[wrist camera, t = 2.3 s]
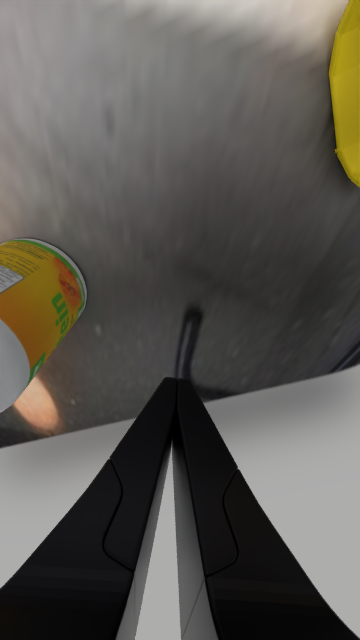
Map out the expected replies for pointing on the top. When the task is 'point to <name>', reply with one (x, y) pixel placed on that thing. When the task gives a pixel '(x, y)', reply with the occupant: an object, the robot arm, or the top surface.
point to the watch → (347, 90)
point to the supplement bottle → (34, 309)
